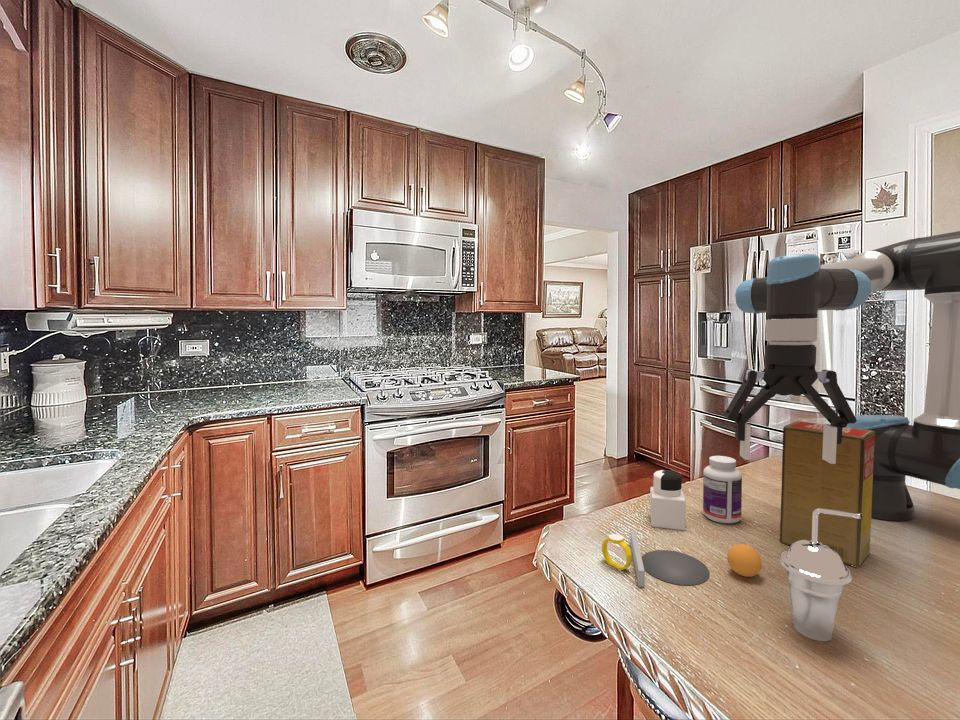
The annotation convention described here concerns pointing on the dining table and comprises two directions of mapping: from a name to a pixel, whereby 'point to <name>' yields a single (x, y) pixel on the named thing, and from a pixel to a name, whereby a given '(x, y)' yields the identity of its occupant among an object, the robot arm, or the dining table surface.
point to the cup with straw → (815, 581)
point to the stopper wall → (637, 559)
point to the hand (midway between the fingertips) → (785, 459)
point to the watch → (620, 540)
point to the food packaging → (827, 489)
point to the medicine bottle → (667, 501)
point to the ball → (744, 560)
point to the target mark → (675, 567)
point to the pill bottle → (722, 490)
